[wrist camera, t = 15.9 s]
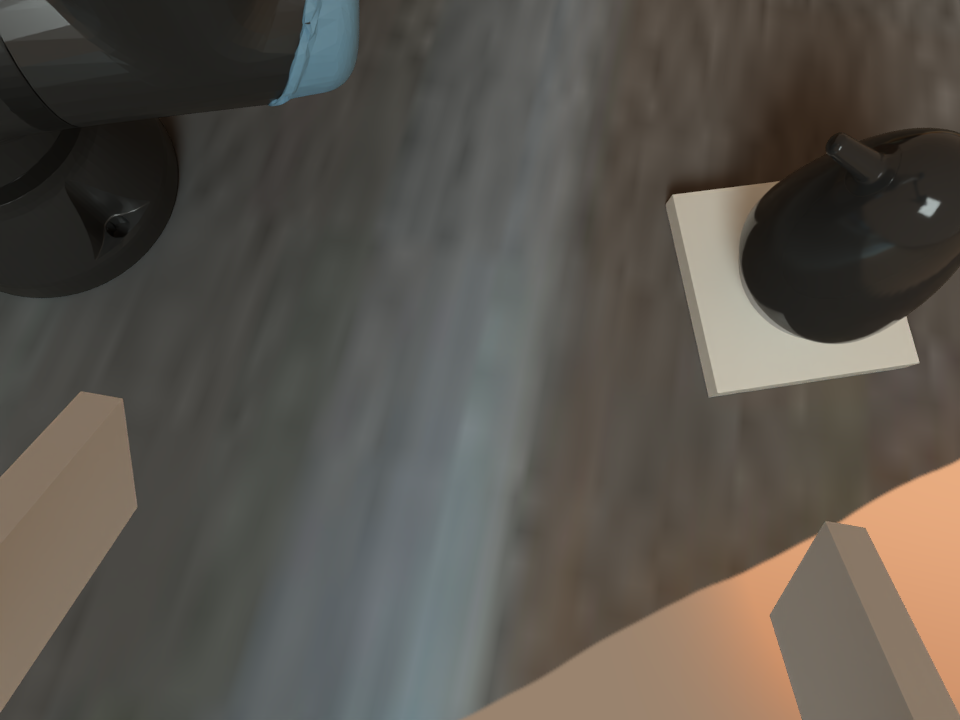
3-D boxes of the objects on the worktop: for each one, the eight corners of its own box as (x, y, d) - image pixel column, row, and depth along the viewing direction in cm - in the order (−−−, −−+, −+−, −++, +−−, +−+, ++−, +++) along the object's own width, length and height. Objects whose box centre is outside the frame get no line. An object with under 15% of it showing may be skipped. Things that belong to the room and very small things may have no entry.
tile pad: (665, 204, 48) (672, 194, 47) (851, 180, 49) (864, 170, 48) (708, 397, 45) (717, 393, 44) (904, 367, 46) (919, 362, 45)
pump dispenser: (732, 182, 47) (866, 27, 32) (887, 231, 47) (1094, 97, 32) (695, 328, 45) (821, 233, 30) (858, 379, 45) (1066, 309, 30)
